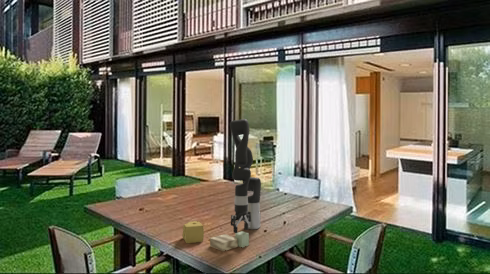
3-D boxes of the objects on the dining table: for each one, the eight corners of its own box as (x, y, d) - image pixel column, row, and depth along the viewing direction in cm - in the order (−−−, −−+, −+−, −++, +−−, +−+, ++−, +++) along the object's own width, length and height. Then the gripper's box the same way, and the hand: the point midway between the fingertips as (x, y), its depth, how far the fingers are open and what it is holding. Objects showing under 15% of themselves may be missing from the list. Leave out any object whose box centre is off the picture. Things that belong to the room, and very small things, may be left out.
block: (241, 243, 225) (241, 231, 224) (248, 245, 221) (248, 233, 221) (235, 245, 221) (235, 233, 220) (242, 247, 217) (242, 235, 217)
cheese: (182, 238, 232) (182, 222, 232) (199, 236, 236) (199, 220, 235) (185, 244, 223) (185, 226, 222) (204, 241, 226) (204, 225, 226)
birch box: (224, 242, 227) (224, 234, 226) (237, 247, 219) (237, 238, 218) (210, 246, 219) (210, 238, 219) (222, 252, 211) (222, 243, 211)
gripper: (244, 200, 227) (244, 227, 228) (227, 204, 216) (227, 232, 217) (254, 202, 222) (254, 230, 223) (237, 206, 211) (236, 235, 212)
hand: (240, 231), depth 220 cm, fingers open, 8 cm apart
